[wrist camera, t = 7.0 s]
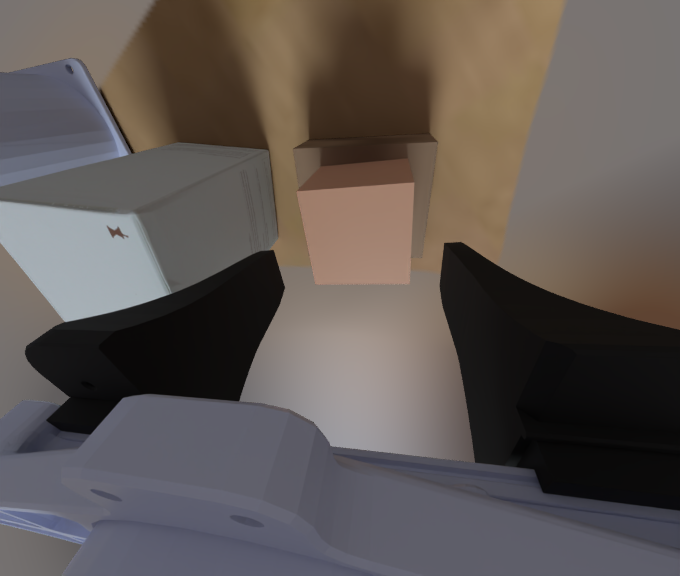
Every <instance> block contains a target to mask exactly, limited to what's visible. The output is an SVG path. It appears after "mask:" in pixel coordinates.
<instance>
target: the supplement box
mask: <svg viewBox="0 0 680 576" xmlns="http://www.w3.org/2000/svg"><path fill="white" fill-rule="evenodd" d="M277 239H278V232H277V221H276V212H275V203H274V194H273V185H272V176H271V167H270V158H269V151H268V150H264V149H253V148H239V147H227V146H216V145H205V144H193V143H180V142H177V143H173V144H170V145H166V146H162V147H158V148H154V149H150V150H146V151H141V152H138V153H134V154H130V155H126V156H122V157H118V158H113V159H110V160H105V161H101V162H97V163H93V164H88V165H84V166H80V167H76V168H72V169H68V170H64V171H60V172H56V173H52V174H48V175H45V176H40V177H36V178H32V179H28V180H24V181H20V182H17V183H12V184H8V185H4V186H1V187H0V243H1V244H2V245H3V246H4V248H5V249H6V250H7V251H8V252H9V254H10V255H11V256H12V257H13V259H14V260H15V261H16V262H17V263H18V265H19V266H20V267H21V268H22V269H23V271H24V272H25V273H26V274H27V276H28V277H29V278H30V279H31V280H32V282H33V283H34V284H35V285H36V287H37V288H38V289H39V290H40V292H41V293H42V294H43V295H44V296H45V298H46V299H47V300H48V301H49V302H50V304H51V305H52V306H53V307H54V309H55V310H56V311H57V312H58V314H59V315H60V316H61V317H62V319H63V320H64V321H65V322H68V321H74V320H78V319H83V318H88V317H92V316H97V315H102V314H106V313H110V312H114V311H118V310H122V309H125V308H129V307H132V306H136V305H139V304H143V303H146V302H149V301H152V300H155V299H158V298H160V297H163V296H166V295H169V294H172V293H174V292H177V291H179V290H182V289H184V288H187V287H189V286H191V285H194V284H196V283H198V282H200V281H202V280H204V279H206V278H208V277H210V276H212V275H214V274H216V273H218V272H220V271H222V270H224V269H226V268H227V267H229V266H231V265H233V264H235V263H237V262H238V261H240V260H242V259H244V258H246V257H248V256H250V255H252V254H254V253H256V252H259V251H268V250H270V248H271V247H272V246H273V244H274V243H275V242H276V241H277Z"/></svg>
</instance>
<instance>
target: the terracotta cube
mask: <svg viewBox="0 0 680 576" xmlns="http://www.w3.org/2000/svg"><path fill="white" fill-rule="evenodd" d="M296 192H297V196H298V201H299V206H300V211H301V216H302V221H303V226H304V231H305V235H306V240H307V245H308V250H309V255H310V260H311V265H312V270H313V274H314V279H315V284H317V285H319V284H320V285H321V284H322V285H323V284H410V266H411V245H412V224H413V203H414V179H413V175H412V172H411V168H410V164H409V160H408V158H406V159H396V160H385V161H374V162H364V163H353V164H342V165H332V166H321V167H320V168H319V169H318V170H317V171H316V172H315V173H314V174H313V175H312V176H311V177H310V178H309V179H308V180H307V181H306V182H305V183H304V184H303V185H302V186H301V187H300V188H299V189H298V190H297V191H296Z"/></svg>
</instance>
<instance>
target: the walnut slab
mask: <svg viewBox="0 0 680 576" xmlns="http://www.w3.org/2000/svg"><path fill="white" fill-rule="evenodd" d="M437 145H438V142H437V141H436V140H435V139H434V137H433V136H432V135H431V134H411V135H392V136H373V137H354V138H335V139H315V140H308V141H306V142H304V143H302V144H301V145H299V146H297V147H295V148H294V149H293V152H294V159H295V166H296V172H297V179H298V186H299V188H300V187H301V186H302V185H303V184H304V183H305V182H306V181H307V180H308V179H309V178H310V177H311V176H312V175H313V174H314V173H315V172H316V171H317V170H318V169H319V168H320V167H321V166H332V165H342V164H353V163H364V162H374V161H385V160H396V159H406V158H408V160H409V164H410V168H411V172H412V175H413V179H414V203H413V224H412V245H411V258H422V254H423V247H424V240H425V232H426V225H427V218H428V211H429V203H430V196H431V189H432V182H433V174H434V167H435V160H436V152H437ZM307 246H308V245H307ZM308 252H309V250H308ZM309 256H310V255H309Z"/></svg>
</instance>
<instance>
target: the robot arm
mask: <svg viewBox="0 0 680 576" xmlns="http://www.w3.org/2000/svg"><path fill="white" fill-rule="evenodd" d="M71 67H72V68H73V71H74V72H73V71H72V69H71ZM130 154H132V153H131V151H130V149H129V147H128V145H127V144H126V142H125V140H124V138H123V136H122V134H121V132H120V130H119V128H118V126H117V124H116V123H115V121H114V119H113V117H112V115H111V113H110V111H109V109H108V107H107V105H106V104H105V102H104V100H103V98H102V96H101V94H100V92H99V90H98V88H97V86H96V85H95V83H94V81H93V79H92V77H91V75H90V73H89V71H88V69H87V67H86V66H85V64H84V63H83V62H82V61H81V60H79V59H75V58H69V59H65V60H60V61H57V62H52V63H48V64H43V65H40V66H36V67H31V68H26V69H22V70H18V71H14V72H10V73H1V72H0V187H1V186H4V185H8V184H12V183H17V182H20V181H24V180H28V179H32V178H36V177H40V176H45V175H48V174H52V173H56V172H60V171H64V170H68V169H72V168H76V167H80V166H84V165H88V164H93V163H97V162H101V161H105V160H110V159H113V158H118V157H122V156H126V155H130ZM284 289H285V286H284V283H283V280H282V276H281V273H280V270H279V266H278V263H277V260H276V257H275V253H274V250H268V251H259V252H256V253H254V254H252V255H250V256H248V257H246V258H244V259H242V260H240V261H238V262H237V263H235V264H233V265H231V266H229V267H227V268H226V269H224V270H222V271H220V272H218V273H216V274H214V275H212V276H210V277H208V278H206V279H204V280H202V281H200V282H198V283H196V284H194V285H191V286H189V287H187V288H184V289H182V290H179V291H177V292H174V293H172V294H169V295H166V296H163V297H160V298H158V299H155V300H152V301H149V302H146V303H143V304H139V305H136V306H132V307H129V308H125V309H122V310H118V311H114V312H110V313H106V314H102V315H97V316H92V317H88V318H83V319H78V320H74V321H68V322H64V323H62V324H59V325H57V326H55V327H53V328H52V329H50V330H49V331H47V332H46V333H45V334H43V335H42V336H40V337H39V338H37V339H36V340H35V341H33V342H32V343H30V344H29V345H27V346H26V350H25V355H26V357H27V360H28V362H30V364H31V365H32V366H33V367H34V368H35V369H36V370H37V371H38V372H39V373H40V374H41V375H43V376H44V377H45V378H46V379H48V380H49V381H50V382H51V383H53V384H54V385H55V386H56V387H58V388H59V389H60V390H61V391H63V392H64V393H65V394H66V395H68V396H69V397H70V398H69V399H68V400H67V401H66V402H65V403H64V404H63V405H62V406H60V405H58V404H56V403H52V402H47V401H36V400H22V401H21V402H20V403H19V404H18V405H16V406H15V407H14V408H13V409H12V410H10V411H9V412H8V413H7V414H6V415H4V416H3V417H2V418H1V419H0V524H3V525H8V526H12V527H16V528H20V529H24V530H28V531H33V532H36V533H40V534H44V535H48V536H52V537H56V538H59V539H63V540H67V541H71V542H75V543H79V544H82V546H81V548H80V549H79V550H78V552H77V553H76V555H75V556H74V558H73V559H72V560H71V562H70V563H69V565H68V566H67V568H66V569H65V571H64V572H63V574H62V575H61V576H680V330H678V329H673V328H669V327H665V326H660V325H656V324H652V323H648V322H643V321H639V320H635V319H631V318H627V317H624V316H621V315H617V314H614V313H610V312H607V311H603V310H600V309H597V308H594V307H590V306H587V305H584V304H581V303H578V302H576V301H573V300H570V299H567V298H565V297H562V296H559V295H556V294H554V293H551V292H549V291H547V290H544V289H542V288H540V287H537V286H535V285H533V284H531V283H529V282H527V281H524V280H523V279H520V278H518V277H517V276H515V275H513V274H511V273H509V272H508V271H506V270H504V269H502V268H501V267H499V266H497V265H496V264H494V263H493V262H491V261H489V260H488V259H486V258H485V257H483V256H482V255H480V254H479V253H477V252H476V251H474V250H473V249H471V248H470V247H468V246H467V245H465V244H464V243H462V242H455V243H444V251H443V260H442V269H441V279H440V292H441V299H442V304H443V309H444V312H445V316H446V319H447V322H448V325H449V329H450V331H451V335H452V338H453V341H454V345H455V348H456V351H457V355H458V359H459V363H460V369H461V374H462V380H463V385H464V391H465V397H466V403H467V409H468V415H469V422H470V429H471V435H472V442H473V450H474V457H475V463H473V462H464V461H454V460H446V459H437V458H428V457H420V456H411V455H402V454H393V453H384V452H376V451H367V450H358V449H350V448H341V447H332V446H330V444H329V442H328V440H327V439H326V437H325V436H324V435H323V433H322V432H321V431H320V430H319V428H318V427H317V426H316V425H315V424H314V422H312V421H310V420H308V419H306V418H304V417H303V416H301V415H299V414H297V413H295V412H293V411H291V410H289V409H285V408H280V407H276V406H271V405H267V404H262V403H252V402H240V401H239V400H240V396H241V393H242V390H243V387H244V384H245V381H246V378H247V375H248V372H249V369H250V366H251V364H252V361H253V359H254V356H255V353H256V351H257V349H258V347H259V344H260V342H261V340H262V338H263V337H264V335H265V333H266V331H267V329H268V327H269V325H270V323H271V321H272V319H273V317H274V315H275V313H276V311H277V309H278V307H279V305H280V302H281V299H282V296H283V292H284Z"/></svg>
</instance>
